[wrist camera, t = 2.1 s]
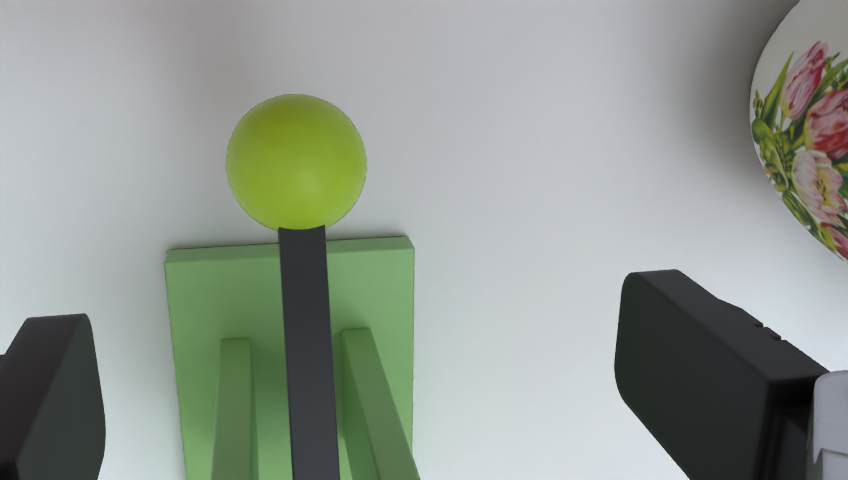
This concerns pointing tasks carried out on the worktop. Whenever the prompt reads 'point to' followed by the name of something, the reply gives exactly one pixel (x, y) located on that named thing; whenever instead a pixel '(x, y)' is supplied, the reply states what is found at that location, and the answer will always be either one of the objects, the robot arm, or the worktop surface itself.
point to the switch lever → (301, 247)
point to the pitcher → (807, 117)
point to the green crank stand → (266, 367)
